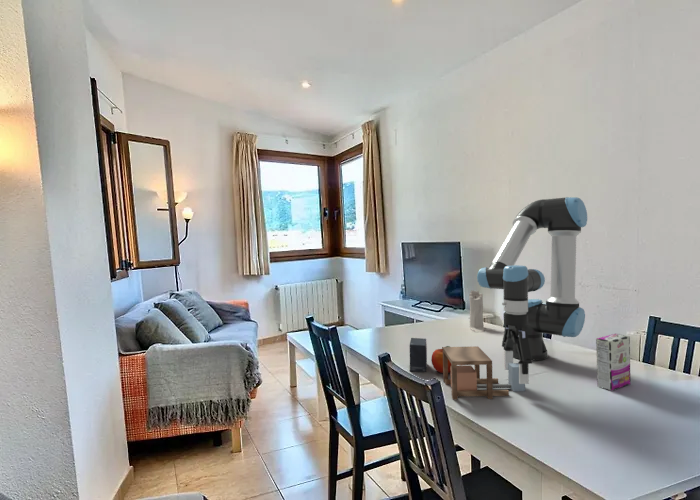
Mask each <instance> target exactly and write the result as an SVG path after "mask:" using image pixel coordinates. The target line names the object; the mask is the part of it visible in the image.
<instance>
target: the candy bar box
mask: <svg viewBox="0 0 700 500" xmlns="http://www.w3.org/2000/svg"><path fill="white" fill-rule="evenodd" d="M595 340H596V342H595V344H596V378H597V379H596V381H597V382H596V383H597V387H598V386H600V387H603V388H602V389H604V388H605V389H604V390H607V389H608V390H607V391H610V390H611V392H612V390H613V391H615V389H616V390H618V389H621V388H623V387H626V386H628V385H631V384H632V383H631V344H630V343H631V341H630V340H631V338H630V335H626V334H621V333H612V334H609V335H605V336H602V337H601V336H600V337H597V338H596V339H595ZM600 387H599V388H600Z"/></svg>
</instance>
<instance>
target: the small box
mask: <svg viewBox="0 0 700 500" xmlns="http://www.w3.org/2000/svg"><path fill="white" fill-rule="evenodd" d="M427 344H428V343H427V338H421V337H420V338H417V337H411V338H410V342H409V372H418V373H419V372H421V373H426V372H427V363H428V346H427Z"/></svg>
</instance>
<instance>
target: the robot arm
mask: <svg viewBox="0 0 700 500" xmlns="http://www.w3.org/2000/svg"><path fill="white" fill-rule="evenodd" d="M587 223H588V212H587V208H586V205H585V202H584V201H583V200H582V199H581V198H579V197H576V196H575V197H572V196H571V197H568V196H566V197H559V198H557V197H556V198H546V199H538V200H535V201H533V202H531V203H528V204H527V205H526V206H525V207H523V209H521V210H520V211H519V212H518V213H517V215H516V216H515V217H514V219H513V221H512V227H511V229H510V231H509V233H508V234H507V236H506V238H505V239H504V241H503V243H502V245H501V246H500V248H499V250H498V251H497V253H496V255H495V256H494V257H493V260H492V262H491V263H490V264H489V266H488V267H481V268H480V269H479V270H478V272H477V276H476V277H477V278H476V279H477V283H478V285H479V286H480V287H482V288H486V289H490V290H491V289H494V290H495V289H496V290H503V302H502V303H501V305H502V306H503V311H504V313H503V324H504V331H503V336H502V342H501V347H502V348H503V350H504V354H503V355H504V371H508V363H514V359H519V361H517V363H518V364H519V384H525V385H529V384H530V383H529V381H530V380H529V378H530V377H529V373H530V372H529V371H530V370H529V368H530V367H529V365H530V364H533V361H542V360H546V359H547V358H548V349H547V346H546V343H545V340H544V337H543V335H544V334H549V335H552V336H553V335H554V336H560V337H563V338H566V337H567V338H576V337H577V336H579V335H580V334H581V332H582V330H583V328H584V325H585V322H586V321H585V320H586V312H585V309H584V308H583V307H580V302H579V300H578V299H577V298H576V274H577V273H576V268H577V267H576V265H577V262H576V261H577V238H578V237H577V236H579V235H580V233H582V228H584V227H586V226H587V225H588V224H587ZM539 229H547V233H548V234H549V235H550V236H551V251H550V252H551V257H550V259H551V260H550V261H551V262H550V263H551V264H550V296H549V297H548V298H547V299H546V301H545V303H544V302H543V300H542V299H539V298H538V299H537V298H536V299H535V298H533V299H529V293H530V292H531V293H532V292H536V291H538V290H541V288H543V287H544V286H545V283H546V279H545V275H544V273H543V272H542V271H541V270H538V269H537V268H536V269H534V268H529V269H528V267H527V266H526V265H516V262H517V261H518V260H519V257H520V256H521V253H522V252H523V251H524V248H525V246H526V245H527V243H528V241H529V239H530V238H531V235H534V234H535V233H536V232H537V230H539Z"/></svg>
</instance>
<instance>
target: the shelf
mask: <svg viewBox="0 0 700 500" xmlns="http://www.w3.org/2000/svg"><path fill="white" fill-rule="evenodd" d="M442 347H443V373H442V375H443V378H442V379H443V380H442V381H443V383H445V385H451V378H449V373H448V359H449V361H450V362H451V371H452V387H451V394H450V395H451V398H452V400H458V397H486V398H487V399H488V400H494V397H506V396H507V397H508V396H510V390H508V389H494V388H493V384H499V378H497V377H496V378H494V377H493V360H492V359H491V357H489V356H488V355H487V354H486V353H485V351H483V350H482V349H481V347H479V346H478V345H477V346H450V347H446V346H442ZM470 365H471V366H474V370H475V371H476V372H477V385H478V384H487V388H486V389H480V390H479V389H477V390H463V391H457V366H470ZM482 365H483V366H484V365H486V378H483V377H481V375H480V374H481V373H480V372H481V371H480V368H481V367H480V366H482Z"/></svg>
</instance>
